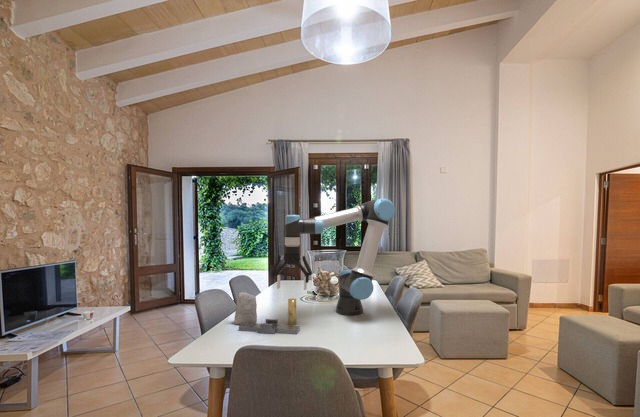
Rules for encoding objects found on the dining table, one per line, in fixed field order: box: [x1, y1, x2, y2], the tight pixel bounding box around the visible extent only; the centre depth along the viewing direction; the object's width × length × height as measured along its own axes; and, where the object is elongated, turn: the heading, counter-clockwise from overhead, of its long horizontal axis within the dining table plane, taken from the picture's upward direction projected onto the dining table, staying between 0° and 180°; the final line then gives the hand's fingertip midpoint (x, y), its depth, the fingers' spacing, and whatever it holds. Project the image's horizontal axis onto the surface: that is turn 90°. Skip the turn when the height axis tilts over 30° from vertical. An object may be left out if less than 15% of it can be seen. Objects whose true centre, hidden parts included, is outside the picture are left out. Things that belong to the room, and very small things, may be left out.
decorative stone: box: [233, 291, 258, 325], centre depth 159 cm, size 11×6×15 cm, turn 87°
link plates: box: [238, 318, 301, 335], centre depth 149 cm, size 28×8×4 cm, turn 80°
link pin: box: [287, 298, 297, 326], centre depth 158 cm, size 4×4×12 cm
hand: (291, 288), depth 159 cm, fingers open, 13 cm apart
